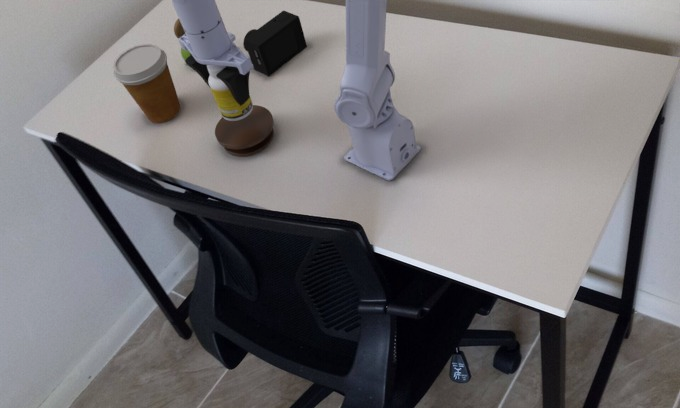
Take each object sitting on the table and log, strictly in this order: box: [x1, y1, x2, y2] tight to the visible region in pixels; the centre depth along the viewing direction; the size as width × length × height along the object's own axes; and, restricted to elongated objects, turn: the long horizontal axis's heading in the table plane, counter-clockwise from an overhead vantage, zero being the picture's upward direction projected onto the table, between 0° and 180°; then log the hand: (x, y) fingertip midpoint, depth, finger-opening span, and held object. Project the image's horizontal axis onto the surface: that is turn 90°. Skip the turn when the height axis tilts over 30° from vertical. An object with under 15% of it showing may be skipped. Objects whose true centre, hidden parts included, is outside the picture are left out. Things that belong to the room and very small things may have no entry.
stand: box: [214, 104, 275, 158], centre depth 113 cm, size 10×10×3 cm
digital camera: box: [242, 10, 308, 78], centre depth 126 cm, size 10×5×7 cm, turn 136°
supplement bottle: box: [207, 65, 254, 121], centre depth 107 cm, size 5×5×10 cm
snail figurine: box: [173, 17, 190, 61], centre depth 128 cm, size 5×6×12 cm
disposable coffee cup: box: [112, 43, 182, 124], centre depth 120 cm, size 10×10×12 cm
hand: (231, 95), depth 108 cm, fingers closed on supplement bottle, 5 cm apart
